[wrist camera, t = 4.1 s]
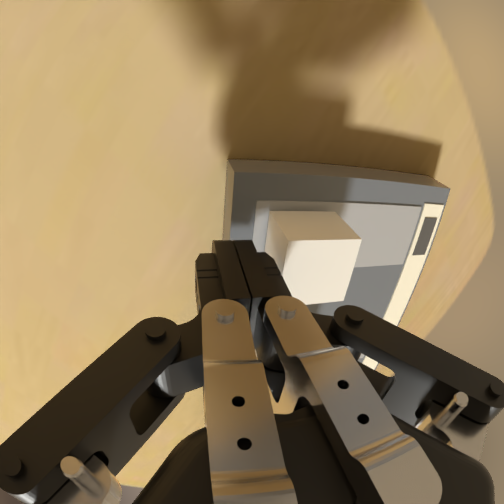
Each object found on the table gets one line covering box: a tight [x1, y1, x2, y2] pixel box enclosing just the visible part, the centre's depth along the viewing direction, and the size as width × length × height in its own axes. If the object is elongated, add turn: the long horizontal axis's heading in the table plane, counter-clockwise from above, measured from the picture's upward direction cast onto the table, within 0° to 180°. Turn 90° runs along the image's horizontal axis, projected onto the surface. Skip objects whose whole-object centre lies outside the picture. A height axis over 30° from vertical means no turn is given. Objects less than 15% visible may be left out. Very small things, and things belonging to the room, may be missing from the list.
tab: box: [265, 211, 362, 305], centre depth 13 cm, size 3×3×2 cm
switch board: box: [223, 159, 450, 370], centre depth 20 cm, size 22×12×2 cm, turn 175°
